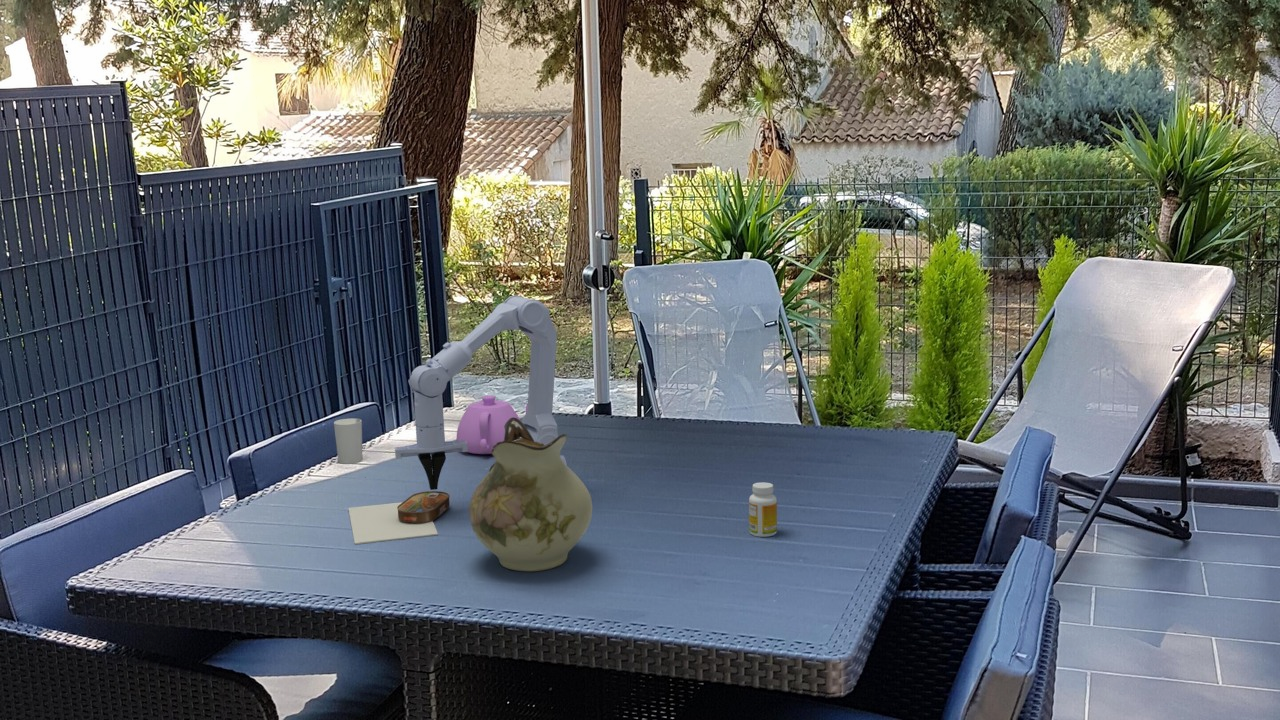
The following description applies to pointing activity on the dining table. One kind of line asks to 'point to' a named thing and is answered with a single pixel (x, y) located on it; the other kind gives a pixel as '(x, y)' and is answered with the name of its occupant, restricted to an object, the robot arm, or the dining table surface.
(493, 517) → the pitcher
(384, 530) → the mat
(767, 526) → the supplement bottle
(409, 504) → the tin
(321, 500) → the dining table surface
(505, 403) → the teapot
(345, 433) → the drinking glass
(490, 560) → the dining table surface
